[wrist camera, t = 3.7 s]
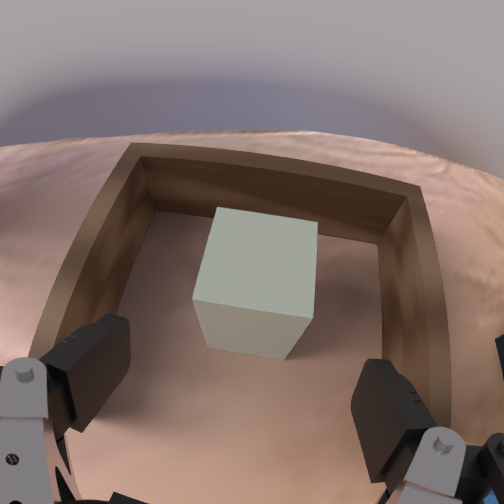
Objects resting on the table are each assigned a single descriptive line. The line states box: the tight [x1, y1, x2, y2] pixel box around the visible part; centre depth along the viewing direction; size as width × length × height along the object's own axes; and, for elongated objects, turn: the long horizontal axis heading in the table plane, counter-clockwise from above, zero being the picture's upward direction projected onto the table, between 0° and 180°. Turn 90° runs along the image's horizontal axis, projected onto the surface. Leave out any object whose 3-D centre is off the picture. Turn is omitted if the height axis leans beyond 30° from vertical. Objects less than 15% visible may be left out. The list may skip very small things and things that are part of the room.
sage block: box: [192, 207, 318, 360], centre depth 17 cm, size 5×5×8 cm
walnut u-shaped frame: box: [28, 143, 451, 429], centre depth 18 cm, size 19×22×6 cm
